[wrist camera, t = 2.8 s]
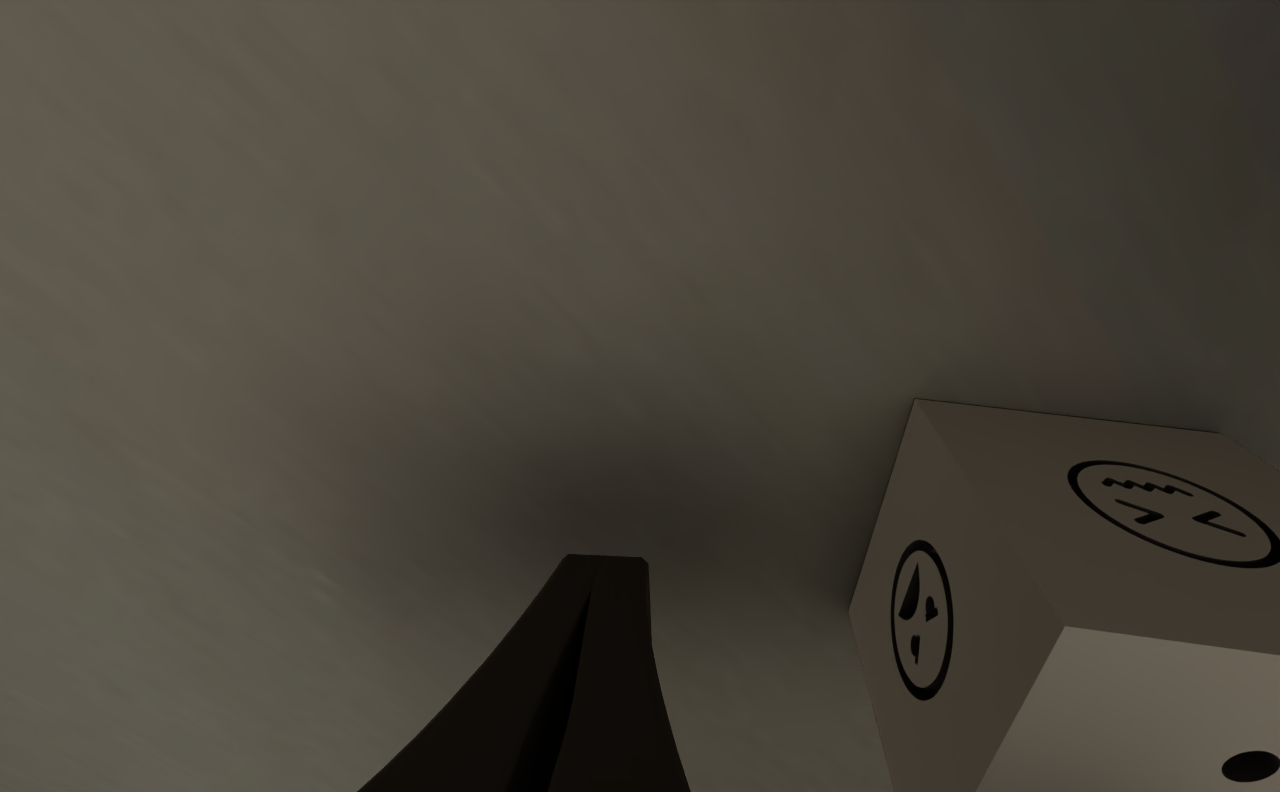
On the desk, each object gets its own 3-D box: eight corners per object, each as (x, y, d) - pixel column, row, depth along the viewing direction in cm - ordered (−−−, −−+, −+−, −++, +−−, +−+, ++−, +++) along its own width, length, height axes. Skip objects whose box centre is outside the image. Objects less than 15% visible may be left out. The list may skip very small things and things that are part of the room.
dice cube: (848, 611, 13) (921, 893, 8) (914, 398, 10) (1064, 626, 6) (1098, 646, 12) (1315, 959, 8) (1222, 434, 10) (1628, 703, 6)
